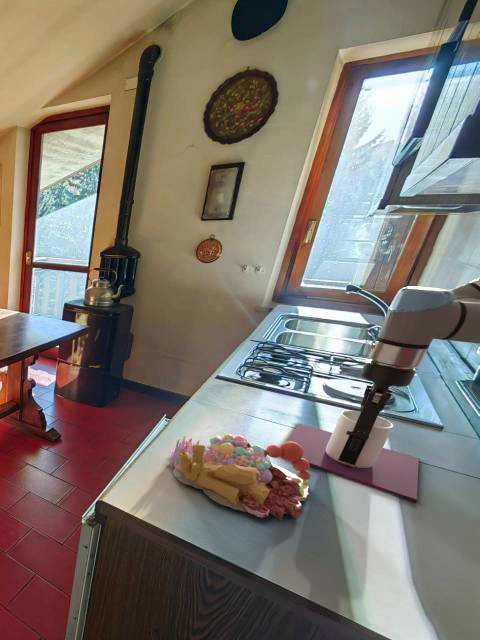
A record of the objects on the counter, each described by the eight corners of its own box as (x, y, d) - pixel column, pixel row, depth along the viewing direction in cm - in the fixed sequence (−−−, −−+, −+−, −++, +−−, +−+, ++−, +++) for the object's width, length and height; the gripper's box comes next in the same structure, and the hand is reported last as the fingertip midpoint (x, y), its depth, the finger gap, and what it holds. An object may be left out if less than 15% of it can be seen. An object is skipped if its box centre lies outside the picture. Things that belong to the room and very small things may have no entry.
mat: (417, 460, 89) (419, 458, 89) (415, 502, 75) (417, 499, 75) (298, 425, 104) (299, 423, 104) (278, 454, 90) (279, 452, 90)
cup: (323, 458, 88) (340, 418, 84) (327, 439, 96) (342, 402, 92) (373, 473, 83) (394, 432, 79) (373, 452, 91) (392, 413, 87)
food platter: (296, 541, 65) (316, 497, 62) (153, 480, 80) (163, 442, 77) (311, 478, 82) (327, 440, 79) (190, 437, 97) (200, 404, 94)
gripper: (372, 348, 91) (336, 428, 99) (360, 371, 76) (319, 464, 84) (418, 356, 86) (377, 440, 94) (416, 383, 71) (367, 480, 79)
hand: (350, 451), depth 89 cm, fingers closed on cup, 12 cm apart
